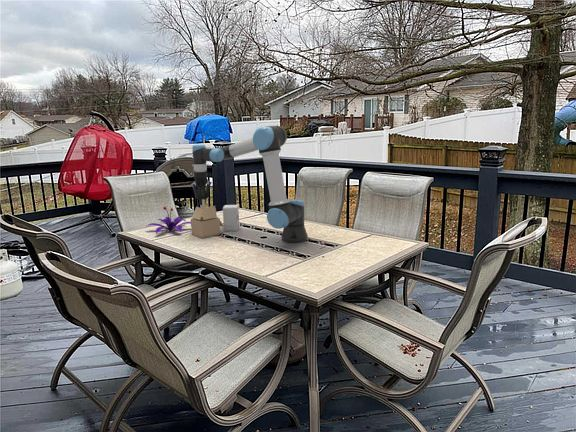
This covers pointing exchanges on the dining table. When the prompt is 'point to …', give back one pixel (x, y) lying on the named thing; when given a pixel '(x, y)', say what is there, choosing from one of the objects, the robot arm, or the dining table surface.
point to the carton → (206, 227)
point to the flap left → (197, 213)
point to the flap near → (209, 212)
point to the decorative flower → (170, 223)
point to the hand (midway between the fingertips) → (203, 210)
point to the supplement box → (231, 217)
